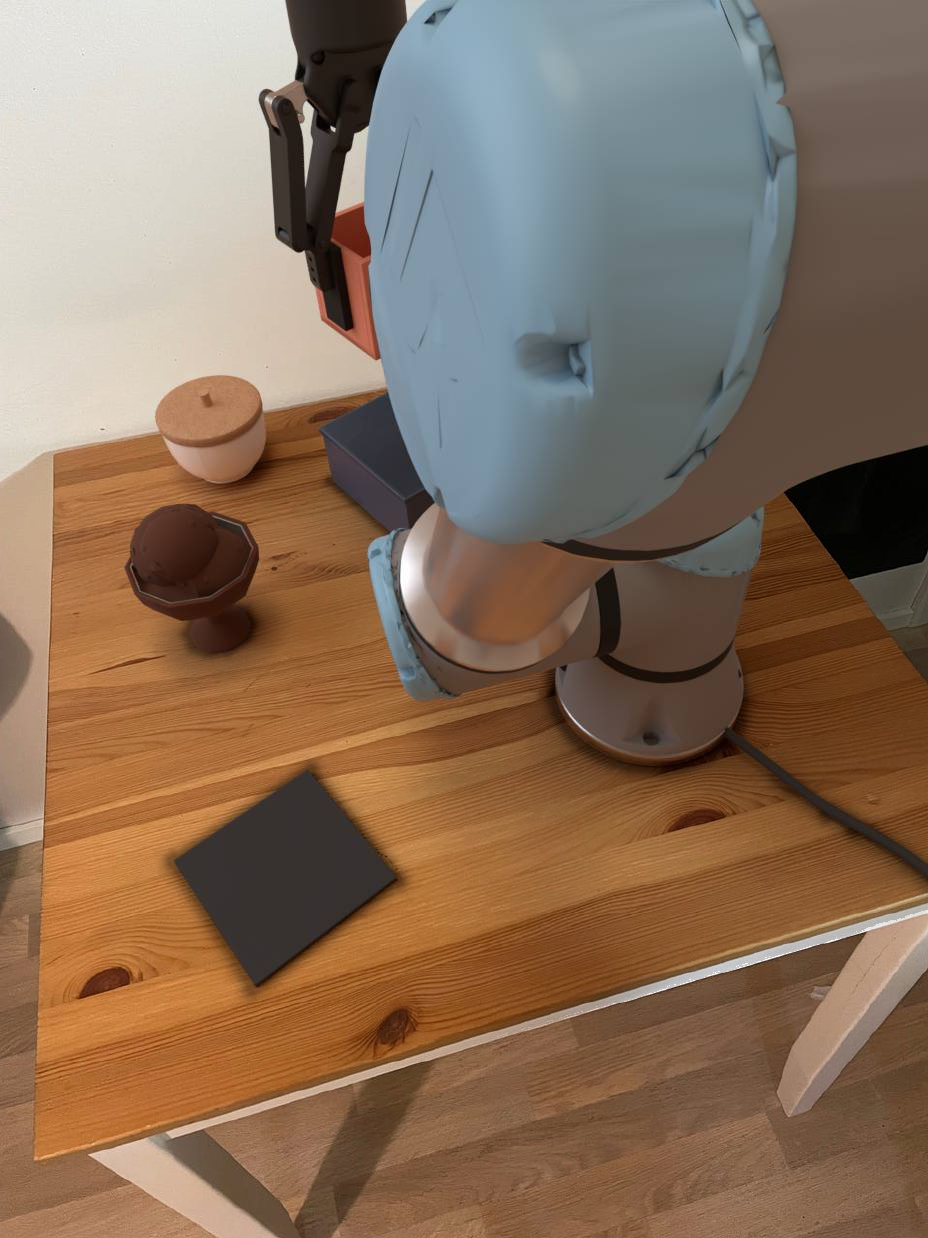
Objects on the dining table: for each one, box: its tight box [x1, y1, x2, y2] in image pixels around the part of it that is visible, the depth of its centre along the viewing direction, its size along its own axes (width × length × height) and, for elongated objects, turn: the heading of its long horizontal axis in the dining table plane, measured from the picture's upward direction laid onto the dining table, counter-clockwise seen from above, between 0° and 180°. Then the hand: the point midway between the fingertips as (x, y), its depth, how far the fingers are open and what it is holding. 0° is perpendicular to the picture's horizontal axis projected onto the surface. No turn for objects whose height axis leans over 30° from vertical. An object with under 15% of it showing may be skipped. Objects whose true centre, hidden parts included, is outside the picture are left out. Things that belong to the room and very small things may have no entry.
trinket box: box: [154, 374, 267, 485], centre depth 96 cm, size 11×11×9 cm
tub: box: [314, 201, 381, 361], centre depth 72 cm, size 8×8×8 cm
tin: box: [318, 391, 435, 533], centre depth 93 cm, size 14×14×7 cm
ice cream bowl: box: [123, 503, 260, 654], centre depth 78 cm, size 11×11×15 cm
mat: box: [173, 769, 398, 987], centre depth 68 cm, size 12×12×1 cm
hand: (386, 301), depth 74 cm, fingers closed on tub, 8 cm apart
